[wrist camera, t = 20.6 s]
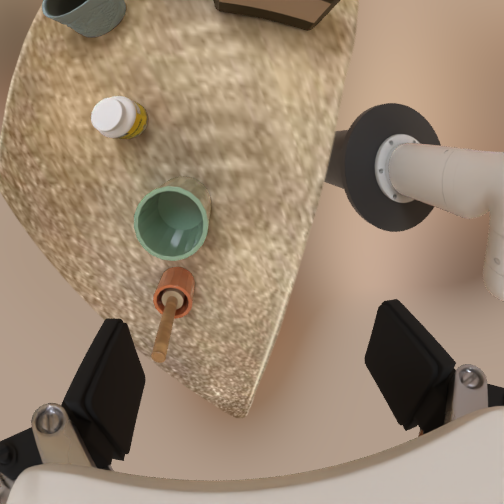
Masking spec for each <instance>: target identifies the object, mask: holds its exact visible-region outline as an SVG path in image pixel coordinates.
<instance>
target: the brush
mask: <svg viewBox="0 0 504 504" xmlns="http://www.w3.org/2000/svg"><path fill="white" fill-rule="evenodd" d="M184 296H185V294H184V293H183V292H182V291H180V290H179V289H176V288H165V289H164V292H163V295H162V303H163V305H164V306H165V308H164V311H163V314H162V318H161V321H160V325H159V329H158V332H157V336H156V339H155V343H154V347H153V351H152V355H151V357H152V359H153V360H154V361H156V362H164V361H165V359H166V354H167V349H168V344H169V340H170V335H171V330H172V325H173V321H174V316H175V312H176V309H179V308H180V307H181V306H182V305H183V301H184Z"/></svg>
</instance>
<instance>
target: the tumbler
mask: <svg viewBox="0 0 504 504" xmlns="http://www.w3.org/2000/svg"><path fill="white" fill-rule="evenodd" d="M210 211H211V199H210V195H209V193H208V191H207V189H206V188H205V186H204V185H203V184H202V183H200V182H199V181H198V180H196V179H193V178H190V177H176V178H173V179H171V180H169V181H167V182H166V183H164V184H163V185H161V186H159V187H158V188H156V189H155V190H153V191H152V192H150V193H148V194H147V195H146V196H145V197H144V198H143V199H142V200H141V202H140V203H139V204H138V206H137V209H136V212H135V215H134V229H135V233H136V236H137V239H138V240H139V242H140V244H141V245H142V247H143V248H144V249H145V250H146V251H148V252H149V253H150V254H151V255H153V256H155V257H157V258H160V259H162V260H170V261H176V260H181V259H185V258H187V257H189V256H191V255H192V254H194V253H195V252H196V251H197V250H198V249H199V248H200V247H201V246H202V245H203V243H204V240H205V238H206V236H207V233H208V225H209V218H210Z"/></svg>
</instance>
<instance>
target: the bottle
mask: <svg viewBox="0 0 504 504" xmlns="http://www.w3.org/2000/svg"><path fill="white" fill-rule="evenodd" d="M213 1H214V4H215V6H216V9H217V10H219V11H223V12H230V13H237V14H243V15H248V16H253V17H258V18H263V19H267V20H272V21H276V22H280V23H284V24H287V25H291V26H294V27H298V28H301V29H304V30H311V29H312V28H313V27H315V26H316V25H317V24H318V23H319V22H320V21H321V20H322V19H323V18H324V17H325V16H326V15H327V14H328V13H329V12H330V10H331V9H332V8H333V7H334V6H335V5H336V4H337V3H338V2H339V1H340V0H213Z"/></svg>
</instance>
